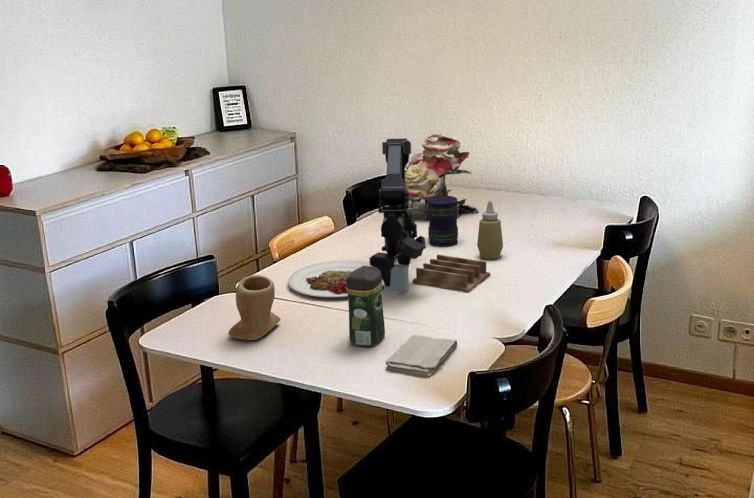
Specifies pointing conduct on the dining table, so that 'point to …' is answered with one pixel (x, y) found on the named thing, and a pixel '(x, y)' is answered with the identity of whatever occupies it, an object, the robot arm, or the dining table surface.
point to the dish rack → (452, 273)
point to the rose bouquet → (433, 173)
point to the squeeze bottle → (490, 234)
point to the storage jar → (443, 221)
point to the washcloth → (421, 355)
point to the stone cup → (254, 308)
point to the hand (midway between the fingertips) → (396, 281)
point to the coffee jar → (365, 306)
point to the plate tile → (399, 279)
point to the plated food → (324, 278)
